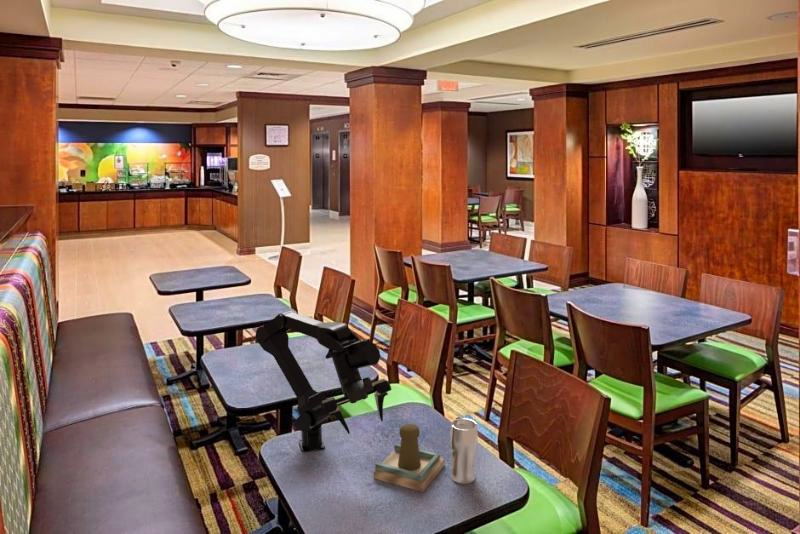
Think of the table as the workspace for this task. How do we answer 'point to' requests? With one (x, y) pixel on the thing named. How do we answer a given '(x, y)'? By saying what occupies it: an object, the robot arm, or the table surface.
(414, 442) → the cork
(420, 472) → the dock
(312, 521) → the table surface
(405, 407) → the table surface
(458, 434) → the silver metal tumbler
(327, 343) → the robot arm
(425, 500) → the table surface
